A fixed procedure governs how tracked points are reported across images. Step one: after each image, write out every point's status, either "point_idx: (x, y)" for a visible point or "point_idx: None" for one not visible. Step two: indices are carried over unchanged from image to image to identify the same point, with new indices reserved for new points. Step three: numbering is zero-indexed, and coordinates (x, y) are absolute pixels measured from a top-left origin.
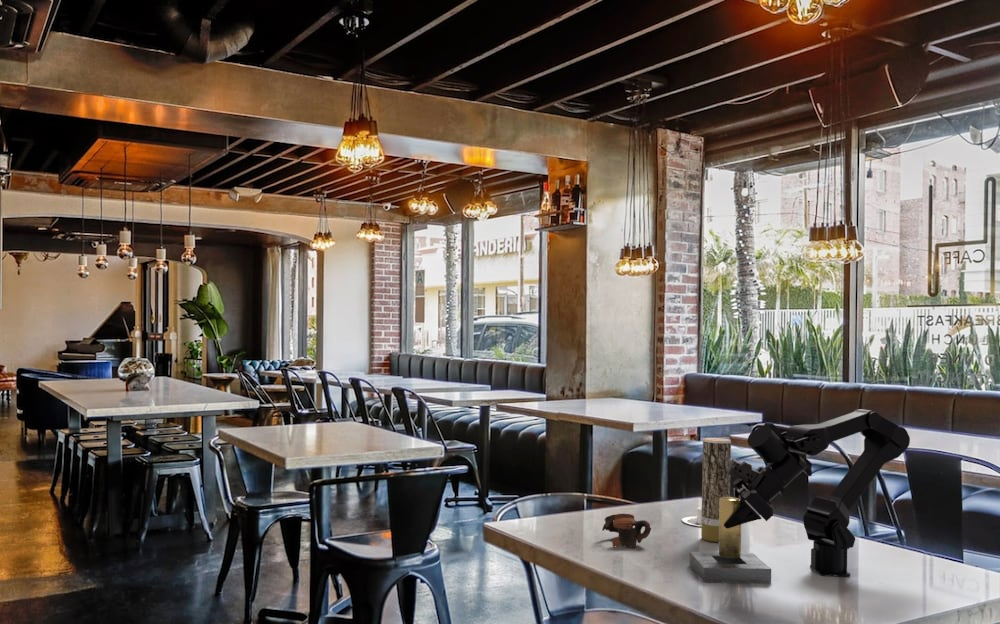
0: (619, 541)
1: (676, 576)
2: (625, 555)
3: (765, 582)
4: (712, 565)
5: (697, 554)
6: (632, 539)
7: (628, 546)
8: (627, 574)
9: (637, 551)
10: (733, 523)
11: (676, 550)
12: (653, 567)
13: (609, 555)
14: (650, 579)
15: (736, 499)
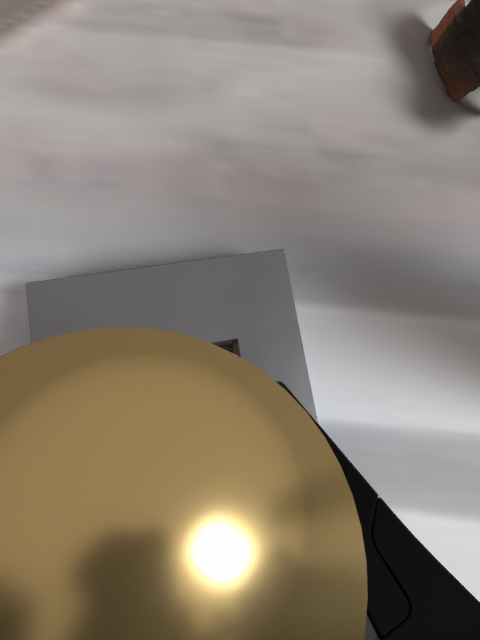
0: (445, 28)
1: (113, 205)
2: (340, 59)
3: None
4: (70, 325)
5: (245, 277)
6: (468, 65)
7: (438, 72)
8: (104, 44)
9: (403, 102)
10: None
11: (462, 238)
12: (213, 136)
13: (324, 10)
14: (56, 112)
15: None
